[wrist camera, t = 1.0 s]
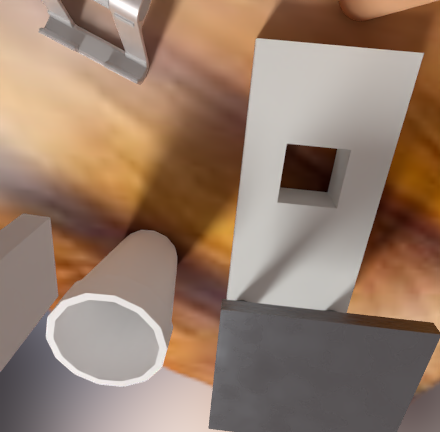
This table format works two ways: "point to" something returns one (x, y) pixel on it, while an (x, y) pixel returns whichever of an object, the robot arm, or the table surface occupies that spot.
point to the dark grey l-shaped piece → (315, 369)
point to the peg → (376, 7)
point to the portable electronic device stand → (100, 49)
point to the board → (341, 174)
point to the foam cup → (119, 313)
